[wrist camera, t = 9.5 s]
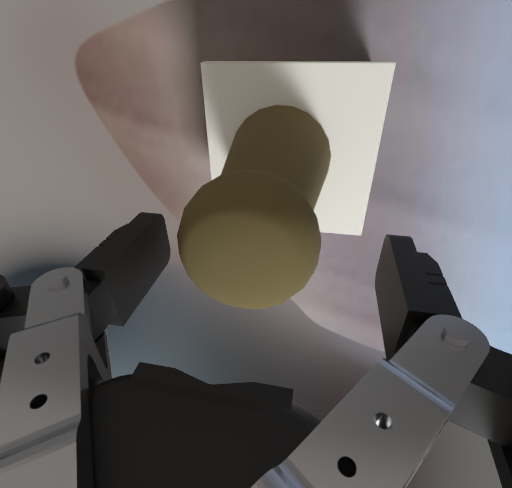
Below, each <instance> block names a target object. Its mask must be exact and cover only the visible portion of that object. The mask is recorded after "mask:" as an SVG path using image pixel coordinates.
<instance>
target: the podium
mask: <svg viewBox="0 0 512 488" xmlns="http://www.w3.org/2000/svg"><path fill="white" fill-rule="evenodd" d="M200 63H201V73H202V84H203V94H204V105H205V115H206V126H207V136H208V147H209V157H210V168H211V178H212V180H213V179H215V178H216V177H218V176H220V175H221V173H222V170H223V167H224V164H225V162H226V159H227V156H228V153H229V150H230V148H231V145H232V142H233V139H234V137H235V134H236V131H237V130H238V128H239V127H240V126H241V124H242V123H243V122H244V120H245V119H246V118H247V117H249V116H250V115H252V114H253V113H255V112H256V111H258V110H259V109H262V108H266V107H270V106H273V105H284V106H293V107H296V108H298V109H300V110H302V111H305V112H307V113H309V114H310V115H311V116H312V117H313V118H314V119H315V120H316V121H317V122H318V123H319V124H320V125H321V126H322V128H323V130H324V132H325V134H326V136H327V137H328V139H329V145H330V152H331V159H330V165H329V170H328V174H327V176H326V179H325V182H324V184H323V187H322V190H321V192H320V195H319V198H318V200H317V203H316V206H315V208H314V212H315V214H316V216H317V219H318V224H319V230H320V232H326V233H338V234H349V235H361V234H362V229H363V224H364V219H365V214H366V209H367V204H368V199H369V194H370V189H371V184H372V179H373V174H374V169H375V164H376V159H377V154H378V149H379V144H380V139H381V134H382V129H383V124H384V119H385V114H386V109H387V104H388V99H389V94H390V89H391V84H392V79H393V74H394V69H395V64H396V63H395V62H393V61H204V62H200Z"/></svg>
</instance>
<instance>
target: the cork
mask: <svg viewBox="0 0 512 488" xmlns="http://www.w3.org/2000/svg"><path fill="white" fill-rule="evenodd" d="M330 159H331V152H330V145H329V139H328V137H327V136H326V134H325V132H324V130H323V128H322V126H321V125H320V124H319V123H318V122H317V121H316V120H315V119H314V118H313V117H312V116H311V115H310V114H309V113H307V112H305V111H302V110H300V109H298V108H296V107H293V106H284V105H273V106H270V107H266V108H262V109H259V110H258V111H256V112H255V113H253V114H252V115H250V116H249V117H247V118H246V119H245V120H244V122H243V123H242V124H241V126H240V127H239V128H238V130H237V131H236V134H235V137H234V139H233V142H232V145H231V148H230V150H229V153H228V156H227V159H226V162H225V164H224V167H223V170H222V173H221V175H220V176H218V177H216V178H215V179H213V180H211V181H210V182H208V183H206V184H205V185H203V186H202V187H201V188H200V189H199V190H198V191H197V193H196V194H195V195H194V196H193V198H192V199H191V200H190V202H189V203H188V204H187V206H186V207H185V208H184V211H183V215H182V218H181V222H180V226H179V230H178V234H177V239H178V247H179V254H180V258H181V261H182V263H183V265H184V267H185V270H186V272H187V274H188V276H189V277H190V278H191V279H192V281H193V282H194V283H195V284H196V285H197V286H198V287H199V288H200V289H201V290H202V291H203V292H205V293H206V294H208V295H209V296H211V297H212V298H214V299H215V300H218V301H220V302H222V303H225V304H227V305H230V306H234V307H240V308H245V309H261V308H269V307H272V306H275V305H278V304H281V303H283V302H285V301H286V300H288V299H289V298H291V297H292V296H293V295H295V294H296V293H297V292H299V291H300V290H301V289H303V288H304V287H305V285H306V283H307V282H308V280H309V279H310V277H311V276H312V274H313V273H314V270H315V268H316V266H317V264H318V259H319V253H320V248H321V235H320V230H319V224H318V219H317V216H316V214H315V212H314V208H315V206H316V203H317V200H318V198H319V195H320V192H321V190H322V187H323V184H324V182H325V179H326V176H327V174H328V170H329V165H330Z"/></svg>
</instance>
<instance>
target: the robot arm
mask: <svg viewBox="0 0 512 488" xmlns="http://www.w3.org/2000/svg"><path fill="white" fill-rule="evenodd" d="M169 258H170V245H169V240H168V235H167V230H166V224H165V220H164V217H163V215H161V214H155V213H144V212H142V213H139V214H138V215H137V216H136V217H135V218H134V219H133V220H132V221H131V222H130V223H129V224H126V225H124V226H122V227H120V228H118V229H116V230H114V231H113V232H112V233H111V234H110V235H109V236H108V237H107V238H106V240H104V241H103V242H102V243H100V244H99V247H96V248H95V249H94V250H93V251H92V252H91V253H90V254H88V255H87V256H86V257H85V258H84V259H83V260H82V261H81V262H80V263H79V264H78V265H76V266H75V267H74V268H60V269H56V270H53V271H50V272H48V273H46V274H44V275H42V276H41V277H39V278H38V279H37V280H36V281H35V282H34V283H33V284H32V285H31V286H21V287H10V285H9V284H8V282H7V280H6V278H5V277H4V276H2V275H0V488H406V487H407V485H408V483H409V482H410V480H411V478H412V477H413V475H414V474H415V472H416V470H417V469H418V467H419V466H420V464H421V462H422V461H423V459H424V458H425V456H426V455H427V453H428V451H429V450H430V448H431V447H432V445H433V443H434V442H435V440H436V439H437V437H438V435H439V434H440V432H441V431H442V429H443V428H444V426H445V424H446V423H447V421H450V422H452V423H454V424H457V425H459V426H461V427H463V428H465V429H467V430H469V431H472V432H474V433H476V434H478V435H480V436H482V437H484V438H486V439H487V440H488V443H489V446H490V449H491V453H492V456H493V459H494V462H495V465H496V468H497V472H498V475H499V478H500V482H501V485H502V488H512V354H509V353H506V352H503V351H501V350H498V349H496V348H494V347H492V346H490V345H489V342H488V340H487V338H486V336H485V335H484V334H483V333H482V332H481V331H480V330H479V329H478V328H477V327H476V326H474V325H473V324H471V323H469V322H468V321H466V320H464V319H462V317H461V315H460V312H459V310H458V308H457V305H456V303H455V301H454V299H453V296H452V294H451V292H450V290H449V287H448V286H447V283H446V281H445V278H444V277H443V274H442V271H441V269H440V267H439V265H438V263H437V262H436V261H435V260H434V259H433V258H432V257H430V256H429V255H428V254H427V253H420V252H417V250H416V248H415V245H414V242H413V240H412V238H411V237H409V236H398V235H386V237H385V239H384V243H383V247H382V251H381V255H380V259H379V263H378V267H377V271H376V277H375V290H376V296H377V303H378V309H379V315H380V322H381V328H382V334H383V341H384V347H385V353H386V359H384V358H383V359H382V360H380V361H379V362H378V363H377V364H376V365H375V366H374V367H373V368H372V369H371V370H370V371H369V372H368V373H367V374H366V375H365V376H364V377H363V378H362V380H360V381H359V383H358V384H357V385H356V386H355V387H354V388H353V389H352V390H351V391H350V392H349V393H348V394H347V395H346V396H345V397H344V398H343V399H342V401H341V402H340V403H339V404H338V405H337V406H336V407H335V408H334V409H333V410H332V411H331V412H330V413H329V414H328V415H327V417H326V418H324V420H323V421H321V420H320V419H319V418H318V417H316V416H315V415H314V414H312V413H311V412H310V411H308V410H307V409H305V408H303V407H302V406H300V405H298V404H295V403H293V402H292V401H293V389H290V388H284V387H279V386H273V385H267V384H262V383H256V382H246V383H231V384H216V385H211V384H207V383H205V382H203V381H201V380H199V379H197V378H194V377H192V376H190V375H188V374H186V373H184V372H182V371H180V370H178V369H176V368H171V367H165V366H159V365H154V364H148V363H142V362H140V363H139V364H138V366H137V367H136V369H135V371H134V373H133V374H129V375H124V376H119V377H116V378H112V371H111V363H110V355H109V347H108V339H107V334H106V331H105V329H106V327H107V326H108V325H109V324H111V325H118V326H124V325H125V323H126V322H127V320H128V319H129V318H130V316H131V315H132V313H133V312H134V310H135V309H136V308H137V306H138V305H139V303H140V302H141V301H142V299H143V298H144V296H145V295H146V294H147V292H148V291H149V289H150V288H151V286H152V285H153V284H154V282H155V281H156V279H157V278H158V277H159V275H160V274H161V272H162V271H163V269H164V268H165V267H166V265H167V264H168V262H169Z"/></svg>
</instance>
